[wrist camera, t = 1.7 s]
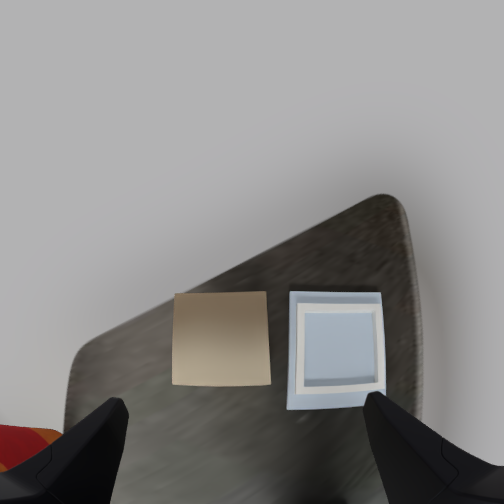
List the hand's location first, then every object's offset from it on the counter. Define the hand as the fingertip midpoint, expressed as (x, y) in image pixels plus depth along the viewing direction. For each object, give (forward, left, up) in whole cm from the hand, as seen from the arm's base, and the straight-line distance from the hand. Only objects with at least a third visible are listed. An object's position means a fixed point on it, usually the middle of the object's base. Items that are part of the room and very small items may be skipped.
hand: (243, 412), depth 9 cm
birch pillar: (+3, +1, -14) cm, 14 cm away
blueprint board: (+4, -7, -13) cm, 16 cm away
